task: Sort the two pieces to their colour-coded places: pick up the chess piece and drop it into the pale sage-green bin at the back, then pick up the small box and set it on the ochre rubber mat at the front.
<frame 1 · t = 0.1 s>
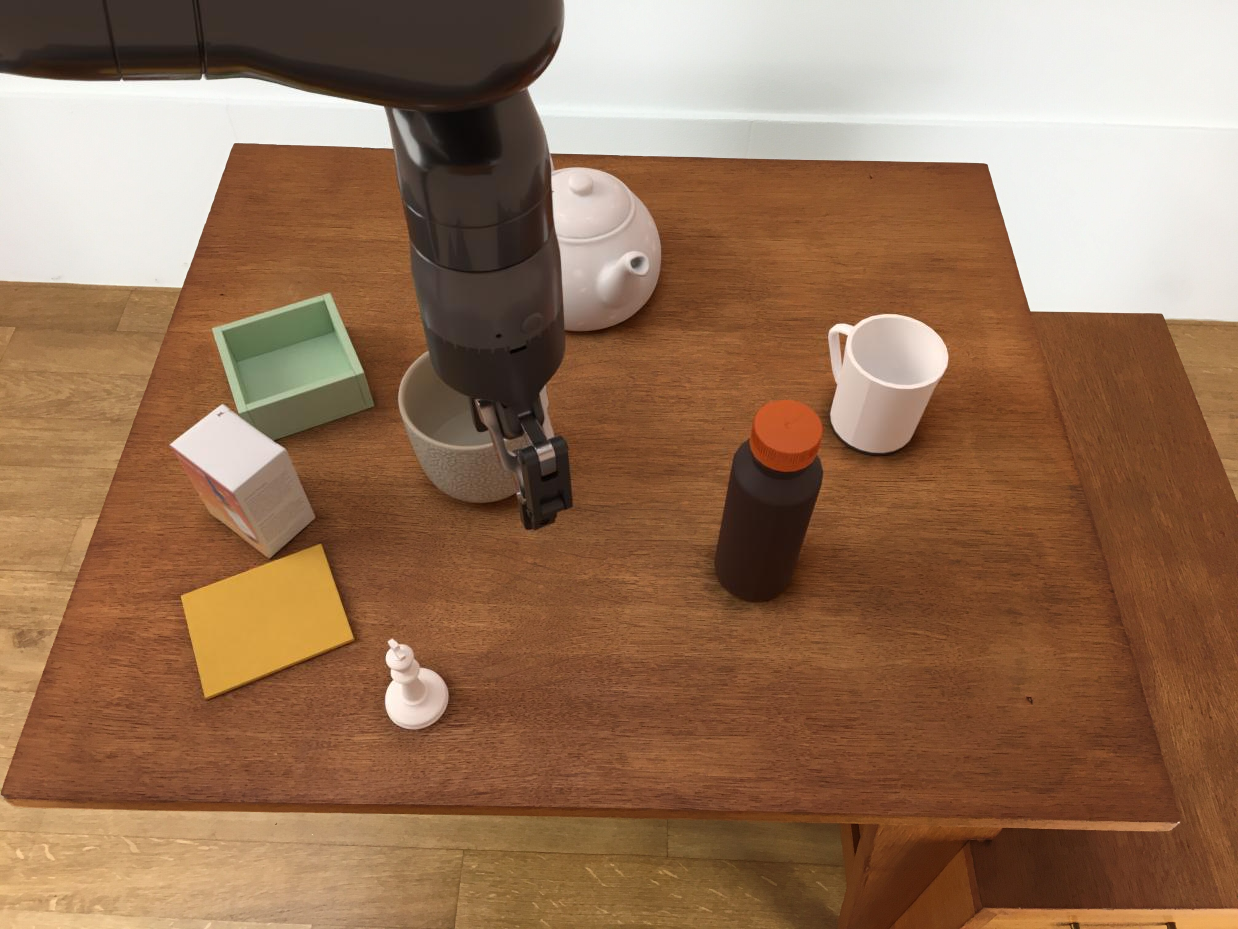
hand: (514, 472, 63), 21 cm above the table, tool pointing down, fingers open, 8 cm apart
ochre mat: (267, 618, 80), on the table
sage bin: (300, 384, 95), on the table
small box: (264, 517, 86), on the table
teapot: (579, 280, 104), on the table
bottle: (752, 569, 84), on the table
planter: (485, 467, 90), on the table
mug: (861, 418, 94), on the table
chess piece: (417, 700, 76), on the table
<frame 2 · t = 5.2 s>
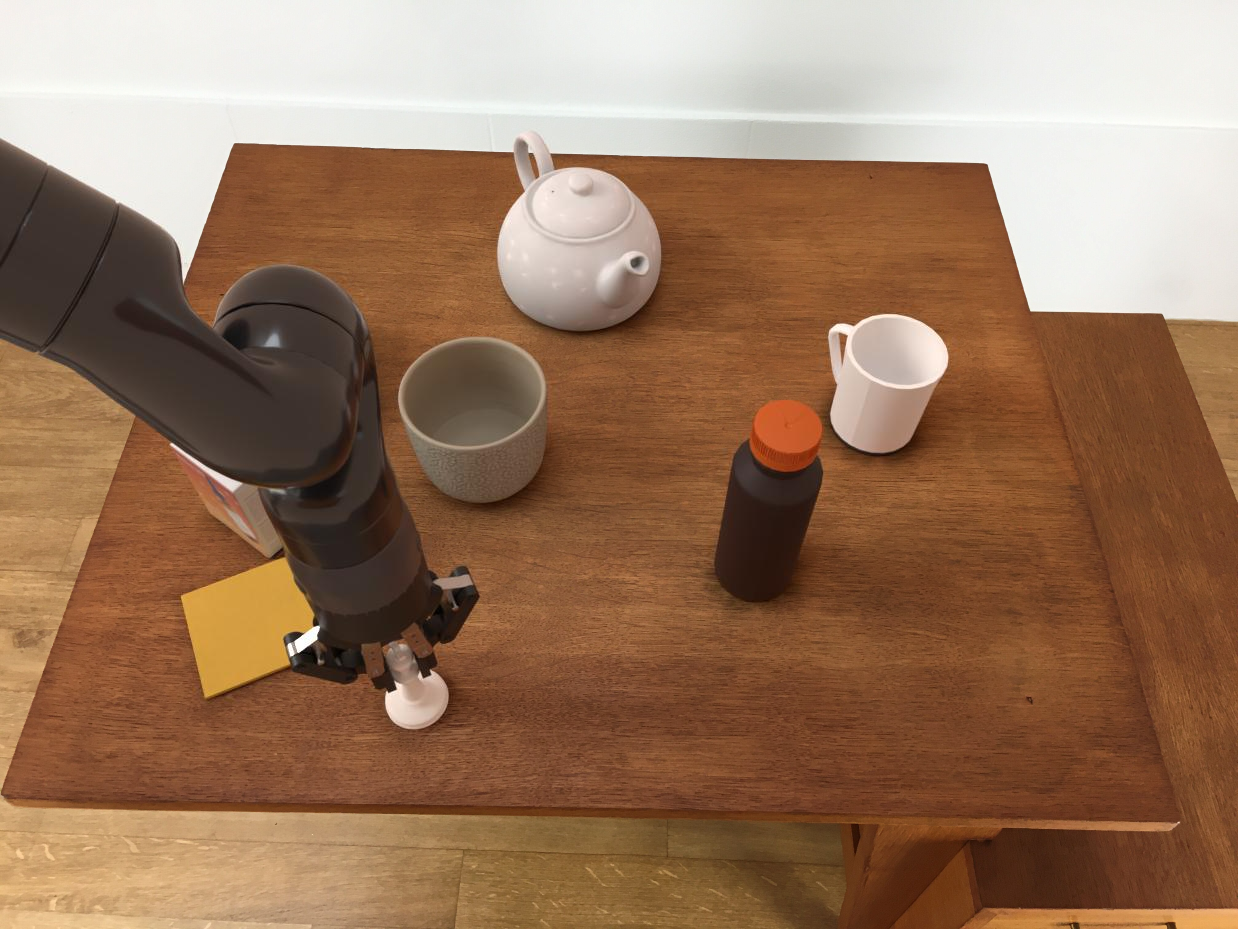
hand: (405, 673, 72), 5 cm above the table, tool pointing down, fingers closed on chess piece
chess piece: (417, 700, 76), on the table, touching gripper
everything else where it was.
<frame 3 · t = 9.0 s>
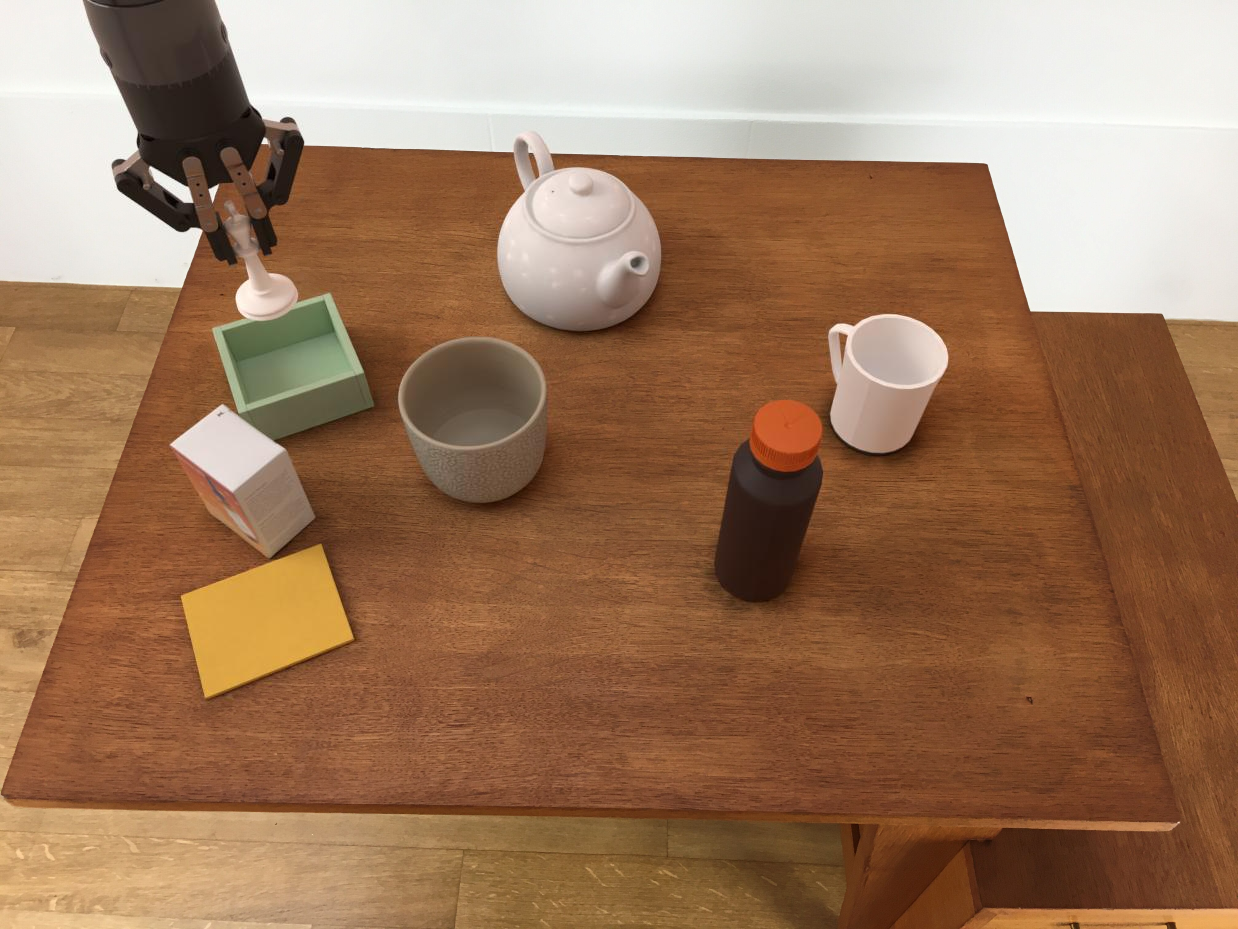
hand: (248, 253, 75), 21 cm above the table, tool pointing down, fingers closed on chess piece
chess piece: (268, 301, 80), point 16 cm above the table, touching gripper
everything else where it was.
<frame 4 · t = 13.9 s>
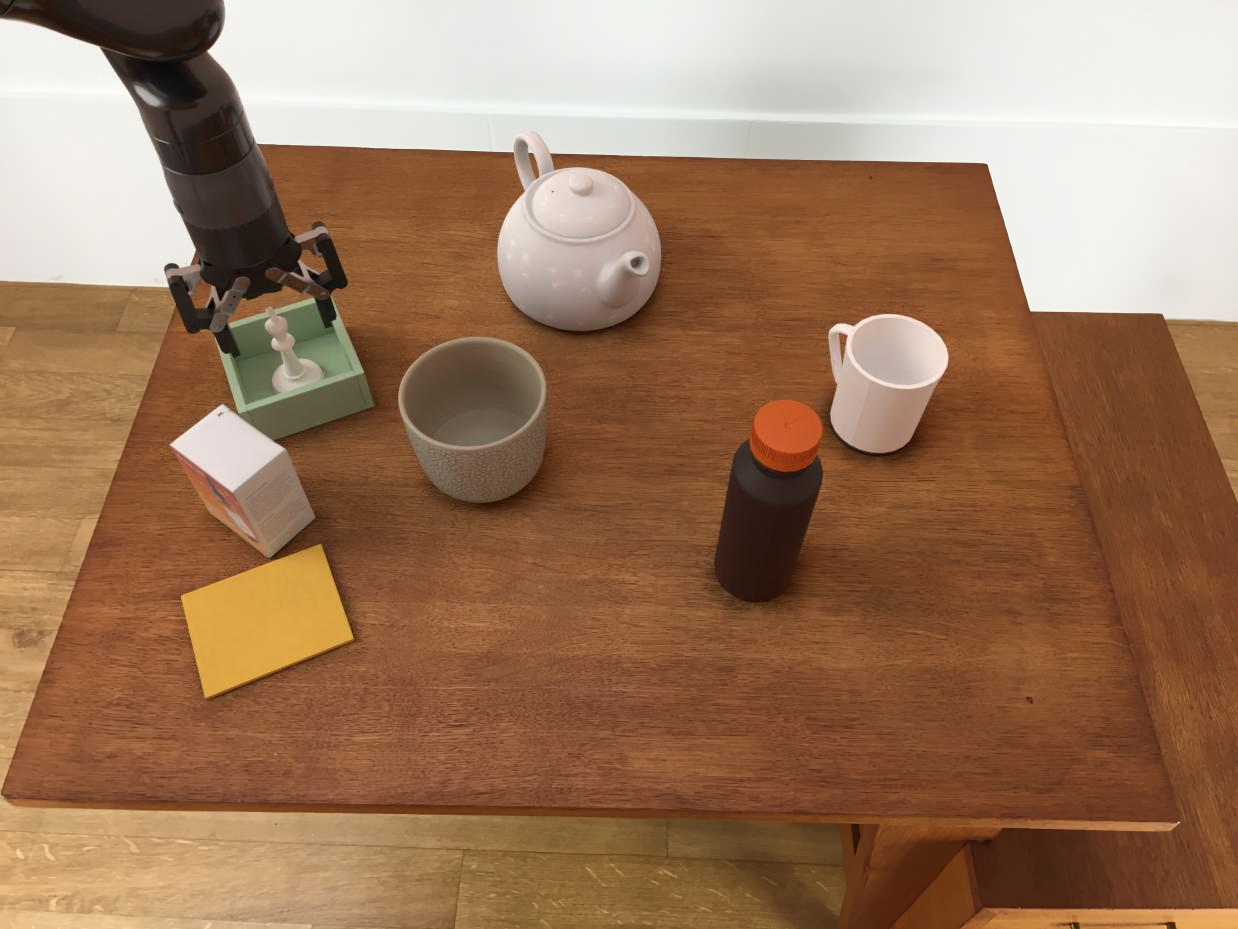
hand: (281, 336, 89), 7 cm above the table, tool pointing down, fingers open, 8 cm apart
chess piece: (299, 382, 95), resting on sage bin
everything else where it was.
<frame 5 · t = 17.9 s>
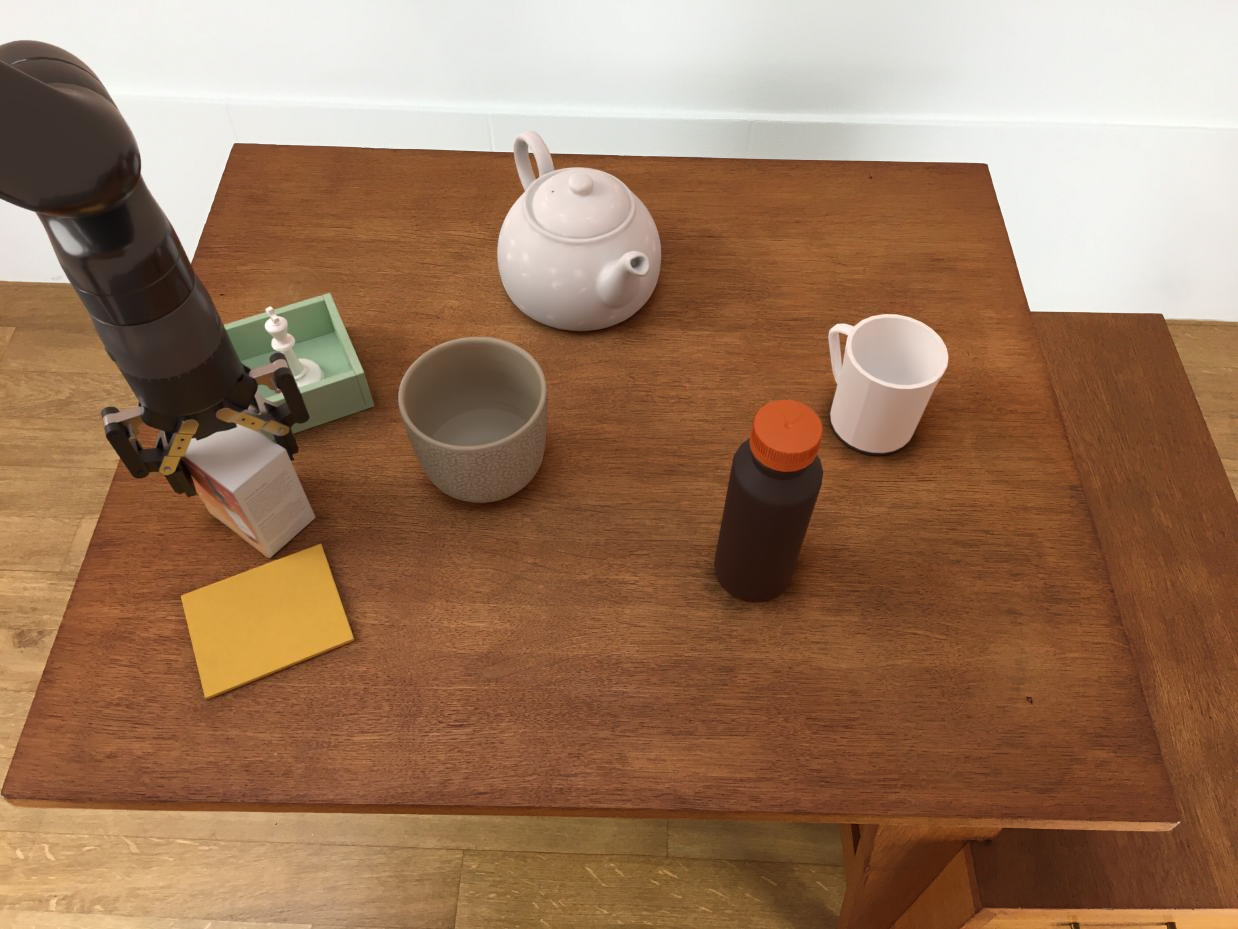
hand: (239, 471, 80), 7 cm above the table, tool pointing down, fingers closed on small box, 7 cm apart
small box: (264, 517, 86), on the table, touching gripper
everything else where it was.
when the fingers open (8 cm above the table, at t = 25.0 s): small box stays where it is, resting on ochre mat.
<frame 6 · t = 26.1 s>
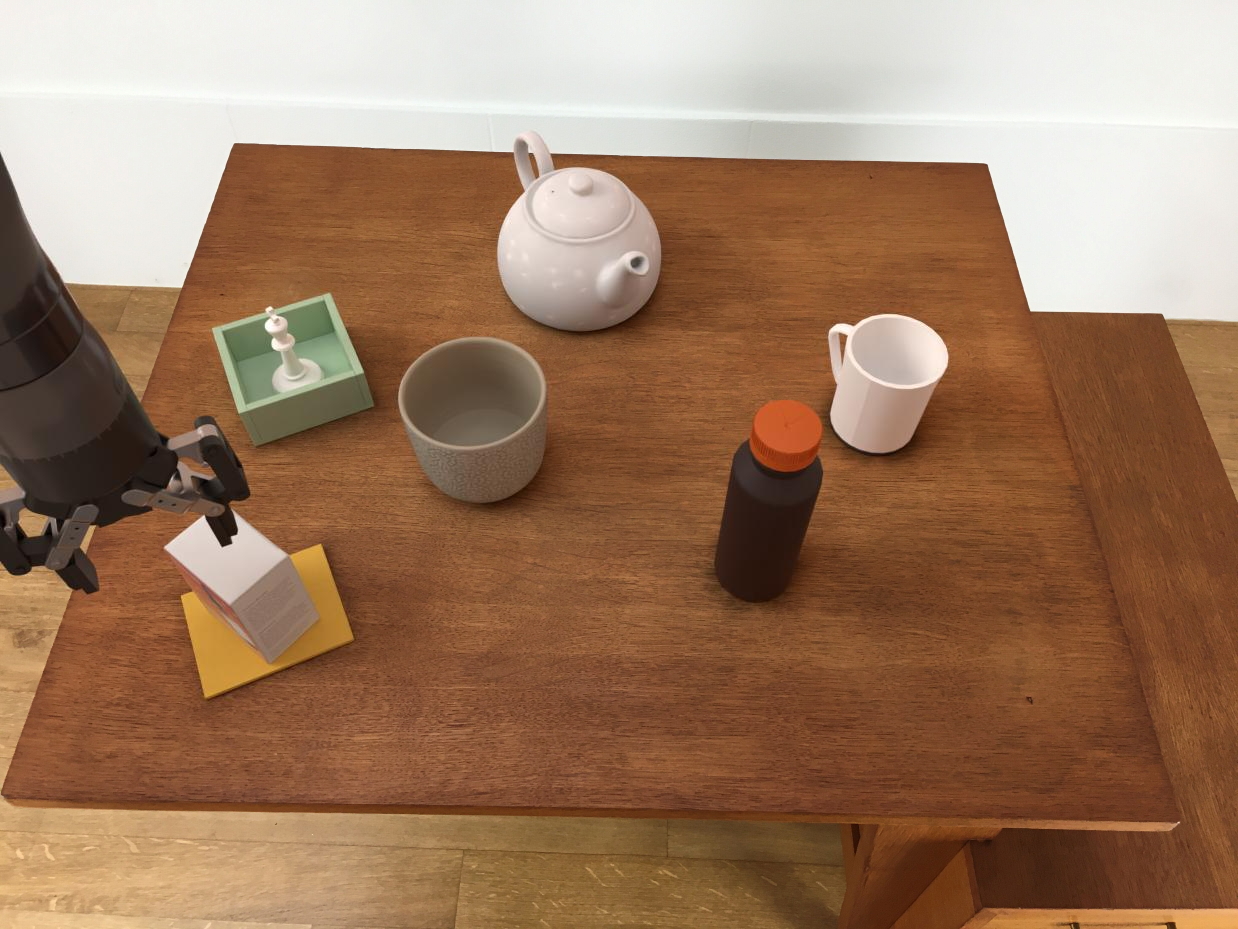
hand: (159, 558, 64), 17 cm above the table, tool pointing down, fingers open, 8 cm apart
small box: (265, 616, 80), resting on ochre mat
everything else where it was.
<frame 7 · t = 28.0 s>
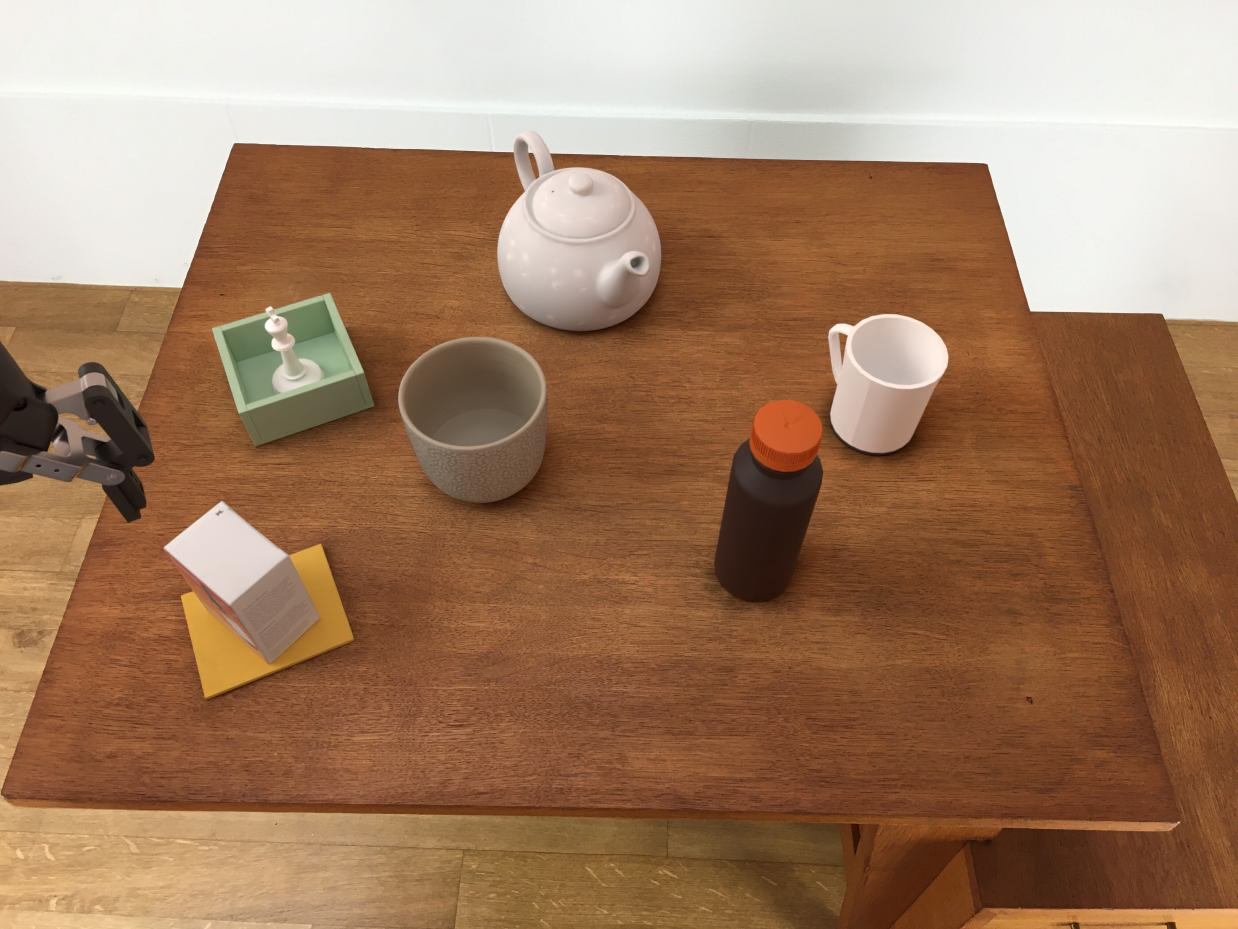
hand: (54, 536, 54), 26 cm above the table, tool pointing down, fingers open, 8 cm apart
nothing on the table moved.
at the end: chess piece inside the target area in the sage bin (0.0 cm from its centre), point 0.3 cm above the sage bin's base; small box inside the target area on the ochre mat (0.2 cm from its centre), point 0.2 cm above the ochre mat's base; small box tilted 0° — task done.
